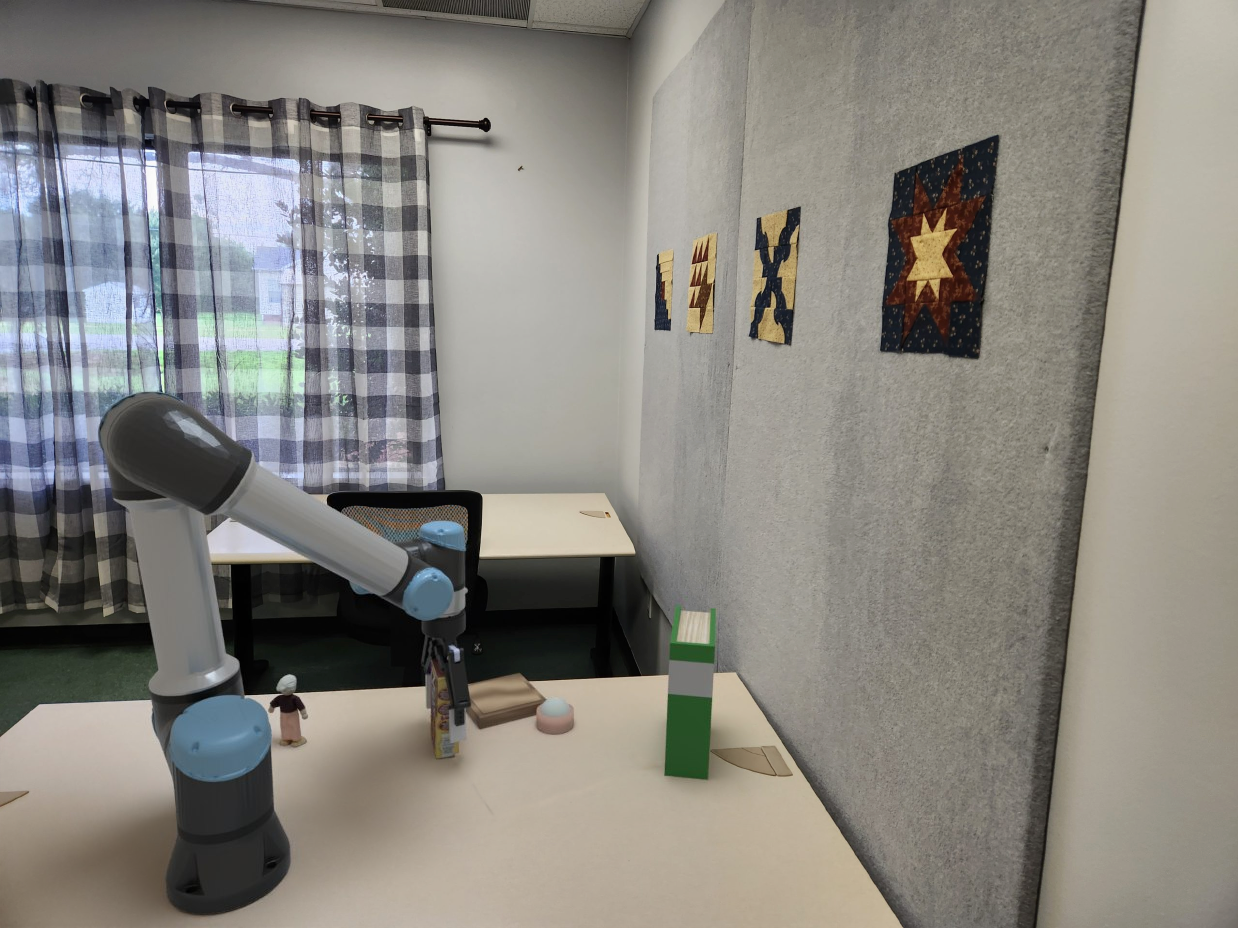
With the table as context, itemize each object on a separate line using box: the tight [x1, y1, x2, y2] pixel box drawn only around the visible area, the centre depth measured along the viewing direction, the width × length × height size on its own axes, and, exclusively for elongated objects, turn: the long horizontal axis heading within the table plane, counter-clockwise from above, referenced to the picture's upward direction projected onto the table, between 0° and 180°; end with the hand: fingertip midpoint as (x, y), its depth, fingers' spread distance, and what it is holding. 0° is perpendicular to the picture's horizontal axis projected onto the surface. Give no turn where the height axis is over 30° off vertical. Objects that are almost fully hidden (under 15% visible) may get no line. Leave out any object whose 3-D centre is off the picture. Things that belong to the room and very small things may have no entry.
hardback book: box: [664, 605, 717, 781], centre depth 137 cm, size 18×7×24 cm, turn 173°
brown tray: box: [466, 672, 548, 730], centre depth 152 cm, size 14×14×3 cm
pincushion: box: [535, 696, 575, 735], centre depth 144 cm, size 7×7×6 cm
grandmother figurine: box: [267, 674, 309, 748], centre depth 137 cm, size 8×4×13 cm, turn 89°
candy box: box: [430, 658, 460, 760], centre depth 137 cm, size 9×4×15 cm, turn 20°
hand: (445, 722), depth 137 cm, fingers open, 13 cm apart
